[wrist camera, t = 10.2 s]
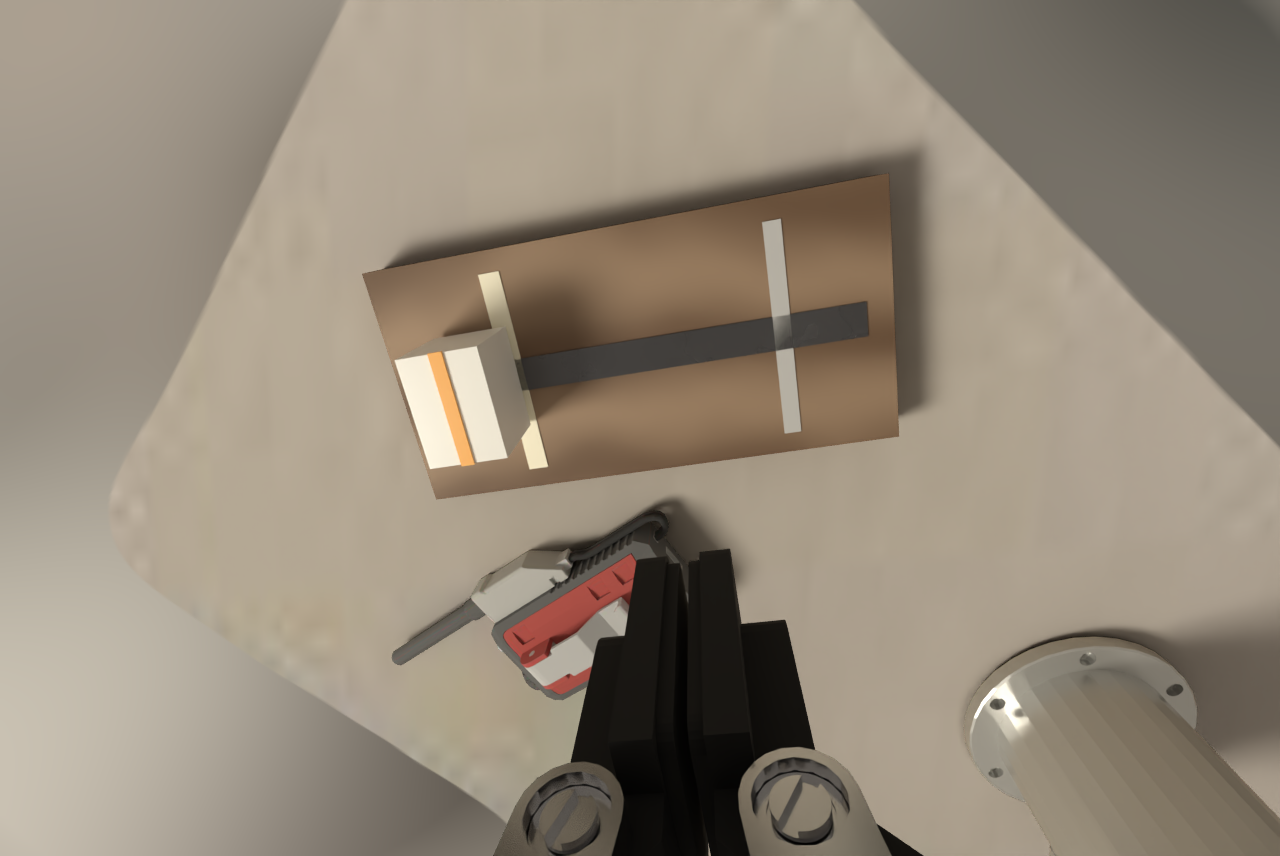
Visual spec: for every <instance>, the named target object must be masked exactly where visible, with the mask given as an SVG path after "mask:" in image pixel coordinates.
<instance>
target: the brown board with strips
mask: <svg viewBox="0 0 1280 856" xmlns="http://www.w3.org/2000/svg"><path fill="white" fill-rule="evenodd" d="M362 275H363V278H364V281H365V284H366V287H367V290H368V293H369V296H370V299H371V302H372V305H373V308H374V311H375V315H376V318H377V321H378V324H379V327H380V330H381V333H382V336H383V339H384V342H385V345H386V348H387V351H388V354H389V357H390V360H391V363H392V366H393V369H394V372H395V375H396V378H397V381H398V384H399V387H400V390H401V394H402V397H403V400H404V403H405V406H406V409H407V412H408V415H409V418H410V421H411V424H412V427H413V430H414V433H415V436H416V439H417V442H418V445H419V448H420V451H421V454H422V457H423V460H424V463H425V466H426V469H427V473H428V476H429V479H430V482H431V485H432V488H433V491H434V494H435V497H436V499H443V498H451V497H458V496H465V495H473V494H480V493H487V492H495V491H502V490H509V489H517V488H524V487H531V486H539V485H546V484H553V483H561V482H568V481H575V480H583V479H590V478H597V477H605V476H612V475H619V474H627V473H634V472H641V471H649V470H656V469H663V468H671V467H678V466H685V465H693V464H700V463H707V462H715V461H722V460H730V459H737V458H744V457H752V456H759V455H766V454H774V453H781V452H788V451H796V450H803V449H810V448H818V447H825V446H832V445H840V444H847V443H854V442H862V441H869V440H876V439H884V438H891V437H898V436H899V424H898V398H897V371H896V345H895V319H894V293H893V267H892V241H891V214H890V188H889V173H888V174H881V175H874V176H869V177H863V178H858V179H853V180H848V181H842V182H837V183H832V184H827V185H822V186H816V187H811V188H806V189H801V190H795V191H790V192H785V193H780V194H774V195H769V196H764V197H759V198H753V199H748V200H743V201H738V202H733V203H727V204H722V205H717V206H712V207H706V208H701V209H696V210H691V211H685V212H680V213H675V214H670V215H664V216H659V217H654V218H649V219H644V220H638V221H633V222H628V223H623V224H617V225H612V226H607V227H602V228H596V229H591V230H586V231H581V232H575V233H570V234H565V235H560V236H554V237H549V238H544V239H539V240H534V241H528V242H523V243H518V244H513V245H507V246H502V247H497V248H492V249H486V250H481V251H476V252H471V253H465V254H460V255H455V256H450V257H445V258H439V259H434V260H429V261H424V262H418V263H413V264H408V265H403V266H397V267H392V268H387V269H382V270H377V271H373V272H368V273H364V274H362ZM505 326H506V330H507V334H508V338H509V342H510V346H511V350H512V353H513V357H514V361H515V365H516V369H517V373H518V377H519V381H520V384H521V388H522V392H523V396H524V400H525V404H526V408H527V412H528V416H529V419H530V423H531V425H530V427H529V428H528V429H527V431H526V432H525V434H524V435H523V437H522V438H521V439H520V441H519V442H518V444H517V445H516V447H515V448H514V450H513V451H512V452H511V454H510V455H509V457H508V458H504V459H497V460H490V461H483V462H476V463H475V465H469V466H461V465H455V466H448V467H441V468H434V469H430V467H429V464H428V461H427V458H426V455H425V452H424V449H423V446H422V443H421V440H420V437H419V434H418V431H417V428H416V425H415V422H414V419H413V415H412V412H411V409H410V406H409V403H408V400H407V397H406V394H405V391H404V388H403V385H402V382H401V379H400V376H399V373H398V370H397V367H396V363H395V360H396V359H398V358H399V357H401V356H403V355H405V354H407V353H409V352H411V351H412V350H414V349H416V348H418V347H420V346H422V345H423V344H425V343H427V342H429V341H431V340H433V339H435V338H441V337H447V336H453V335H458V334H464V333H470V332H476V331H481V330H487V329H493V328H499V327H505Z"/></svg>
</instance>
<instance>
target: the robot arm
mask: <svg viewBox="0 0 1280 856" xmlns="http://www.w3.org/2000/svg"><path fill="white" fill-rule="evenodd" d="M1196 724H1197V705H1196V701H1195V697H1194V693H1193V691H1192V689H1191V688H1190V686H1189V684H1188V683H1187V681H1186V679H1185V678H1184V677H1183V676H1182V675H1181V674H1180V673H1179V672H1178V671H1177V670H1176V669H1175V668H1174V667H1173V666H1172V665H1171V664H1170V663H1169V662H1168V661H1166V660H1165V659H1164V658H1162V657H1161V656H1160V655H1158V654H1157V653H1156V652H1154V651H1152V650H1150V649H1148V648H1146V647H1143V646H1141V645H1139V644H1137V643H1133V642H1129V641H1125V640H1121V639H1117V638H1107V637H1078V638H1070V639H1065V640H1060V641H1055V642H1050V643H1047V644H1044V645H1041V646H1039V647H1036V648H1033V649H1030V650H1028V651H1026V652H1024V653H1022V654H1020V655H1018V656H1016V657H1014V658H1012V659H1011V660H1009V661H1008V662H1007V663H1005V664H1004V665H1002V666H1001V667H1000V668H998V669H997V670H995V671H994V672H993V673H992V674H991V675H990V676H989V677H988V678H987V679H986V680H985V681H984V682H983V683H982V684H981V686H980V687H979V689H978V690H977V692H976V693H975V695H974V696H973V698H972V699H971V702H970V704H969V707H968V709H967V712H966V715H965V722H964V736H965V744H966V746H967V748H968V751H969V753H970V755H971V758H972V759H973V761H974V763H975V765H976V766H977V768H978V770H979V772H980V773H981V775H982V776H983V777H984V778H985V779H986V780H987V781H988V782H989V783H990V784H991V785H992V786H994V787H995V788H997V789H998V790H1000V791H1001V792H1003V793H1004V794H1006V795H1008V796H1011V797H1013V798H1015V799H1018V800H1020V801H1023V802H1026V803H1027V805H1028V807H1029V808H1030V810H1031V812H1032V814H1033V815H1034V817H1035V819H1036V821H1037V823H1038V824H1039V826H1040V828H1041V830H1042V831H1043V833H1044V835H1045V837H1046V838H1047V840H1048V842H1049V844H1050V850H1049V856H1280V818H1279V817H1278V816H1277V815H1276V814H1275V813H1274V812H1273V811H1272V810H1271V809H1270V808H1269V807H1268V806H1267V805H1266V804H1265V803H1264V801H1263V800H1262V799H1261V798H1260V797H1259V796H1258V795H1257V794H1256V793H1255V792H1254V791H1253V790H1252V789H1251V788H1250V787H1249V786H1248V785H1247V784H1246V783H1245V782H1244V781H1243V780H1242V779H1241V778H1240V777H1239V776H1238V774H1237V773H1236V772H1235V771H1234V770H1233V769H1232V768H1231V767H1230V766H1229V765H1228V764H1227V763H1226V762H1225V761H1224V760H1223V759H1222V758H1221V757H1220V756H1219V755H1218V754H1217V753H1216V752H1215V751H1214V750H1213V749H1212V747H1211V746H1210V745H1209V744H1208V743H1207V742H1206V741H1205V740H1204V739H1203V738H1202V737H1201V736H1200V735H1199V734H1198V733H1197V732H1196V731H1195V728H1196ZM708 843H709V848H710V853H711V856H923V855H922V854H920V853H919V852H917V851H916V850H914V849H913V848H911V847H910V846H909V845H907V844H906V843H904V842H903V841H901V840H900V839H898V838H897V837H895V836H894V835H892V834H891V833H890V832H888V831H887V830H885V829H884V828H882V827H881V826H879V825H878V824H876V822H875V820H874V817H873V815H872V813H871V811H870V809H869V807H868V804H867V802H866V800H865V798H864V796H863V794H862V792H861V789H860V787H859V786H858V784H857V783H856V781H855V780H854V778H853V777H852V775H851V773H850V772H849V771H848V770H847V769H846V768H845V767H844V766H842V765H841V764H840V763H839V762H838V761H837V760H835V759H834V758H832V757H830V756H828V755H826V754H824V753H821V752H819V751H817V750H815V747H814V743H813V738H812V734H811V730H810V725H809V721H808V716H807V712H806V707H805V703H804V699H803V694H802V690H801V685H800V681H799V677H798V672H797V668H796V663H795V659H794V654H793V650H792V646H791V641H790V637H789V632H788V628H787V624H786V621H785V620H778V621H768V622H757V623H747V624H741V617H740V611H739V604H738V598H737V591H736V584H735V578H734V571H733V565H732V558H731V552H730V549H723V550H714V551H705V552H700V560H699V561H690V562H689V578H688V601H687V595H686V590H685V585H684V579H683V574H682V569H681V565H680V563H672V564H670V562H669V559H668V557H667V556H662V557H653V558H644V559H638V560H637V561H636V567H635V573H634V579H633V585H632V592H631V598H630V604H629V611H628V617H627V623H626V629H625V635H624V636H613V637H603V638H600V639H599V640H598V642H597V645H596V649H595V654H594V658H593V663H592V668H591V672H590V677H589V681H588V686H587V690H586V695H585V699H584V704H583V708H582V713H581V718H580V722H579V727H578V731H577V736H576V740H575V745H574V749H573V754H572V759H571V763H567V764H564V765H561V766H558V767H555V768H553V769H551V770H549V771H548V772H546V773H545V774H543V775H541V776H540V777H538V778H537V779H536V780H535V781H534V782H533V783H532V784H531V785H530V786H529V787H528V788H527V789H526V790H525V791H524V793H523V794H522V796H521V797H520V799H519V801H518V802H517V804H516V806H515V808H514V810H513V812H512V814H511V817H510V819H509V821H508V823H507V825H506V828H505V830H504V832H503V834H502V837H501V839H500V841H499V844H498V846H497V848H496V850H495V852H494V855H493V856H708Z"/></svg>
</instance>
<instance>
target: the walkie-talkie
mask: <svg viewBox="0 0 1280 856" xmlns="http://www.w3.org/2000/svg"><path fill="white" fill-rule="evenodd" d="M650 521H658V522H659V523H660V524H661V527H660V528H659V529H658V530H657V528H656V527H655V526H654V525H653V523H652V522H650ZM668 525H669V522H668V520H667V518H666V516H665V514H663V513H662V512H660V511H655V510H654V511H650V512H646V513H643V514H642V515H640V516H639V517H637V518H636V519H634V520H632V521H631V522H629V523H628V524H626V525H624V526H623V527H621V528H620V529H618V530H617V531H615V532H613V533H612V534H610V535H609V536H607V537H606V538H604V539H602V540H601V541H599V542H598V543H596V544H595V545H593V546H591V547H589V548H586V549H581V550H575V551H573V552H572V551H571V550H570V549H569V548H568V549H566V550H565V551H537V550H530V551H528V552H526V553H525V554H523V555H522V556H520V557H518V558H517V559H515V560H514V561H512V562H511V563H509V564H508V565H506V566H505V567H503V568H502V569H500V570H499V571H497V572H495V573H494V574H488V575H487V576H485V577H484V578H482V579H481V580H479V582H478V584H477V586H476V588H475V589H474V591H473V593H472V595H471V599H469V600H468V601H466V602H465V605H464V606H462V607H461V608H459V609H458V610H456V611H455V612H453V613H452V614H450V615H449V616H447V617H446V618H444V619H442V620H441V621H439V622H438V623H436V624H435V625H433V626H432V627H430V628H429V629H427V630H426V631H424V632H423V633H421V634H420V635H418V636H417V637H415V638H414V639H412V640H411V641H409V642H407V643H406V644H404V645H403V646H401V647H400V648H398V649H397V650H395V651H394V652H393V654H392V661H393V662H394V663H395V664H397V665H402V664H404V663H406V662H408V661H409V660H411V659H412V658H414V657H415V656H417V655H419V654H420V653H422V652H423V651H425V650H426V649H428V648H430V647H431V646H433V645H434V644H436V643H438V642H439V641H441V640H442V639H444V638H445V637H447V636H449V635H450V634H452V633H453V632H455V631H457V630H458V629H460V628H461V627H463V626H464V625H466V624H468V623H469V622H471V621H472V620H478V619H480V618H481V617H483V616H484V615H487V616H488V617H489V618H490V619H491V620H492V621H493V622H494V627H493V630H492V634H491V635H492V636H493V638H494V640H495V642H496V644H497V647H498V649H499V650H500V651H501V652H504V653H505V654H506V655H507V656H508V657H509V658H510V659H511V660H512V661H513V662H514V663H515V664H516V665H517V666H518V667H519V668H520V669H521V671H522V674H523V677H524V679H525V681H526V683H527V684H528V685H529V686H530V687H531V688H533V689H535V690H541V691H542V692H543V693H544V694H545V695H546V696H547V697H549V698H552V699H554V700H564V699H566V698H568V697H569V696H571V695H573V694H575V693H577V692H578V691H580V690H582V689H584V688H586V687H587V686H588V681H589V677H590V672H591V668H592V663H593V658H594V654H595V649H596V645H597V642H598V640H599V639H600V638H603V637H613V636H624V635H625V629H626V623H627V617H628V611H629V604H630V598H631V592H632V585H633V579H634V573H635V567H636V561H637V560H638V559H644V558H653V557H662V556H667V557H668V559H669V562H670V564H672V563H680V565H681V569H682V574H683V579H684V585H685V590H686V595H687V601H688V578H689V567H688V566H687V565H686V564H685V562H684V561H683V560H682V559H681V558H680V556H679V555H678V554H677V553H676V551H675V550H674V549H673V548H672V547H671V545H670V544H669V543H668V542H667V540H666V539H665V538H664V536H665V535H666V533H667V532H668V528H669V526H668Z"/></svg>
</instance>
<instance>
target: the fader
mask: <svg viewBox="0 0 1280 856" xmlns="http://www.w3.org/2000/svg"><path fill="white" fill-rule="evenodd" d="M395 363H396V367H397V370H398V373H399V376H400V379H401V382H402V385H403V388H404V391H405V394H406V397H407V400H408V403H409V406H410V409H411V412H412V415H413V419H414V422H415V425H416V428H417V431H418V434H419V437H420V440H421V443H422V446H423V449H424V452H425V455H426V458H427V461H428V464H429V467H430V469H434V468H441V467H448V466H455V465H461V466H469V465H475V463H476V462H483V461H490V460H497V459H504V458H508V457H509V455H510V454H511V452H512V451H513V450H514V448H515V447H516V445H517V444H518V442H519V441H520V439H521V438H522V437H523V435H524V434H525V432H526V431H527V429H528V428H529V427H530V425H531V423H530V419H529V416H528V412H527V408H526V404H525V400H524V396H523V392H522V388H521V384H520V381H519V377H518V373H517V369H516V365H515V361H514V357H513V353H512V350H511V346H510V342H509V338H508V334H507V330H506V326H505V327H499V328H493V329H487V330H481V331H476V332H470V333H464V334H458V335H453V336H447V337H441V338H435V339H433V340H431V341H429V342H427V343H425V344H423V345H422V346H420V347H418V348H416V349H414V350H412V351H411V352H409V353H407V354H405V355H403V356H401V357H399V358H398V359H396V360H395Z"/></svg>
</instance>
